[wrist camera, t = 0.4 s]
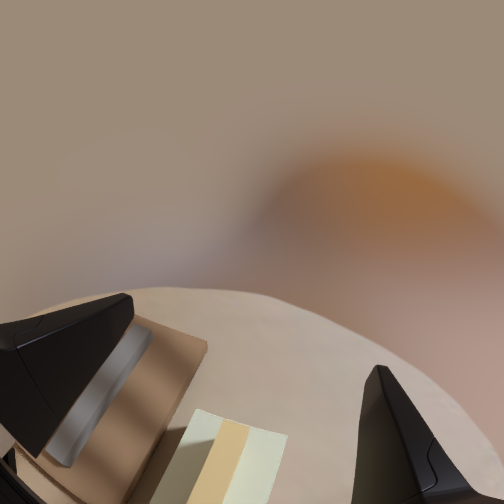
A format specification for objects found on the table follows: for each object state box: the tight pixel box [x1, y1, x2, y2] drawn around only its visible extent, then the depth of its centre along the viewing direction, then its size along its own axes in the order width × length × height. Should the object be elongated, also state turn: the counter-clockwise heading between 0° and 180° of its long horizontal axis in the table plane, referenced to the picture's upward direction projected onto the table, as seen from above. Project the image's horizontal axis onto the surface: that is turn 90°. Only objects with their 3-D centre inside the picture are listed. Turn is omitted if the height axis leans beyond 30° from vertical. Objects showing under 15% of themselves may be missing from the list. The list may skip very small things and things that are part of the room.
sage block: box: [149, 408, 288, 504], centre depth 13 cm, size 10×7×8 cm
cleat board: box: [16, 314, 208, 504], centre depth 19 cm, size 20×12×3 cm, turn 163°
